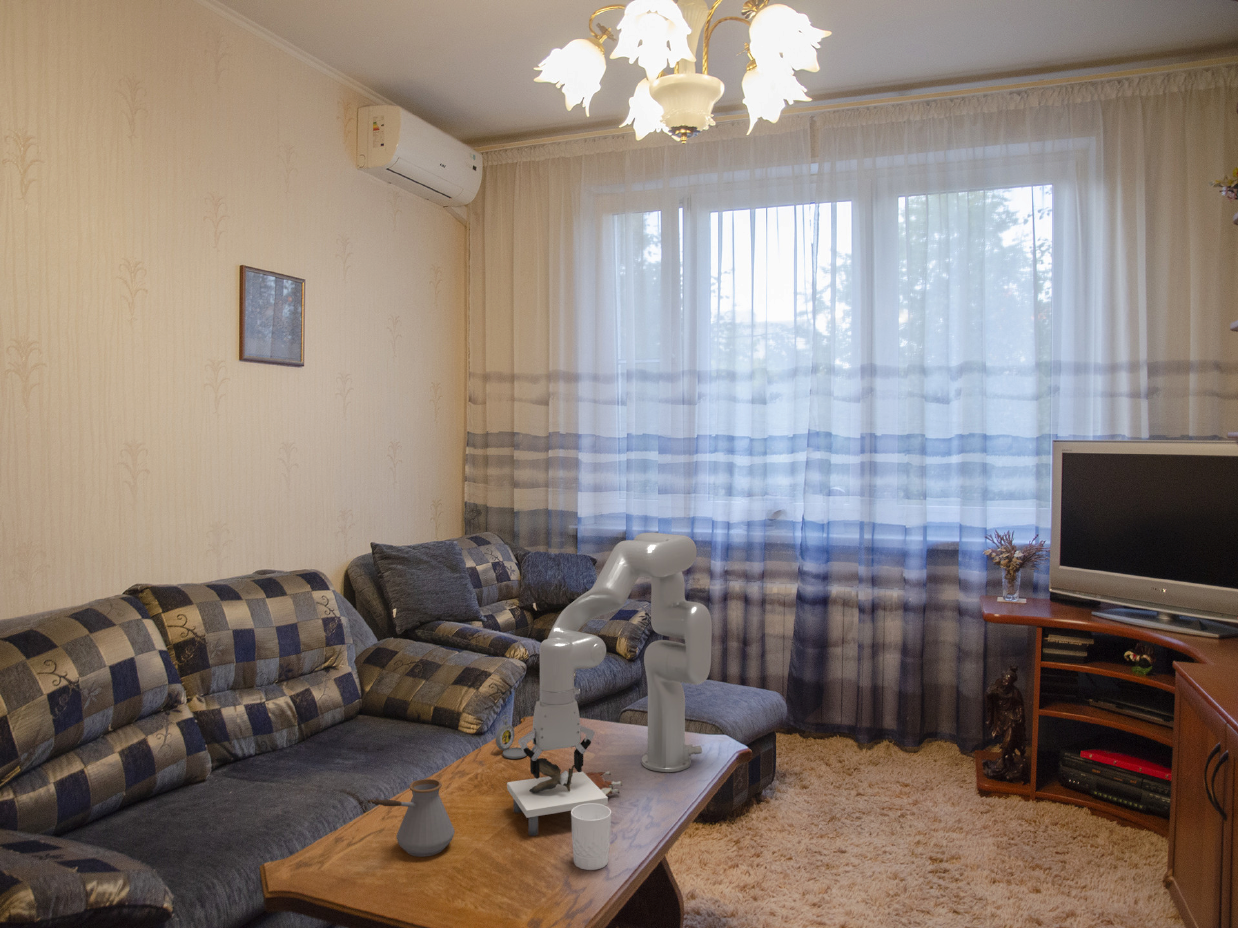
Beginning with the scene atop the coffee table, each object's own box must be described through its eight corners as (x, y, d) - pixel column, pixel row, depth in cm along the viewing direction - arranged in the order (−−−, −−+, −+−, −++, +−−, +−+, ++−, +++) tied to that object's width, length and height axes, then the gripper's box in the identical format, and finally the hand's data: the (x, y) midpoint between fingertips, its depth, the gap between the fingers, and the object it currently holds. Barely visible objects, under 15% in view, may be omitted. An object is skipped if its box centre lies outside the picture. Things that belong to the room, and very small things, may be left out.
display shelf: (582, 796, 199) (582, 771, 199) (607, 825, 184) (607, 797, 184) (507, 808, 192) (507, 782, 192) (526, 839, 177) (526, 810, 177)
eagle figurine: (571, 775, 193) (532, 768, 192) (576, 756, 189) (536, 748, 188) (567, 805, 186) (526, 798, 186) (571, 786, 182) (530, 778, 182)
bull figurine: (626, 806, 195) (592, 809, 192) (606, 782, 208) (574, 784, 205) (628, 787, 195) (594, 789, 192) (608, 764, 207) (576, 766, 205)
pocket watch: (526, 760, 222) (526, 721, 222) (494, 759, 222) (494, 721, 222) (530, 749, 230) (530, 712, 230) (498, 748, 230) (499, 711, 230)
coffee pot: (425, 830, 181) (425, 759, 181) (466, 843, 175) (466, 770, 175) (344, 872, 163) (344, 794, 163) (387, 888, 157) (387, 807, 157)
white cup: (616, 856, 170) (616, 806, 170) (602, 874, 163) (603, 822, 162) (579, 849, 173) (579, 800, 172) (564, 867, 165) (564, 816, 165)
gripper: (588, 687, 194) (588, 761, 195) (514, 695, 188) (514, 772, 188) (599, 696, 187) (599, 773, 188) (523, 705, 181) (523, 785, 181)
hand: (557, 773), depth 188 cm, fingers open, 9 cm apart
